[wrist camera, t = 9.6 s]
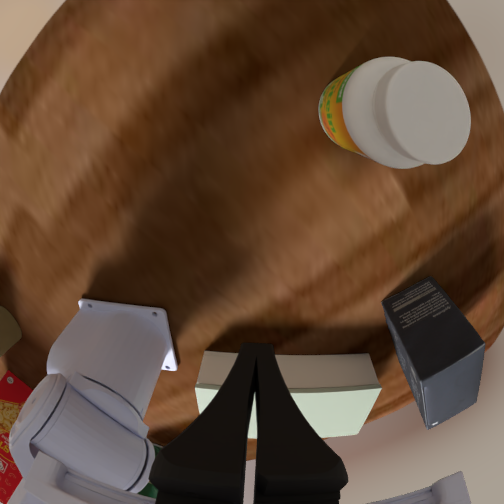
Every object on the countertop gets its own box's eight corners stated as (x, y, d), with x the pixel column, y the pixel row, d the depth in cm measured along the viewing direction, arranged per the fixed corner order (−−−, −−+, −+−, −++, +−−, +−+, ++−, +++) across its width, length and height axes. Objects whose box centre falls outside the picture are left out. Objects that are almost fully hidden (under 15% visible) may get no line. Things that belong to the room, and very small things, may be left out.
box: (441, 337, 24) (478, 403, 16) (397, 360, 26) (425, 432, 17) (432, 272, 21) (488, 343, 13) (378, 300, 23) (418, 385, 14)
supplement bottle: (320, 68, 15) (369, 23, 6) (395, 85, 15) (485, 72, 6) (313, 145, 18) (358, 169, 9) (387, 158, 18) (472, 194, 9)
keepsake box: (211, 397, 29) (205, 426, 26) (204, 350, 26) (196, 382, 22) (349, 399, 29) (355, 426, 25) (368, 353, 25) (378, 383, 22)
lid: (204, 430, 25) (204, 434, 25) (195, 383, 22) (194, 387, 21) (356, 430, 24) (357, 434, 24) (380, 384, 21) (381, 388, 21)
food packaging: (69, 415, 37) (25, 518, 15) (67, 422, 39) (27, 517, 17) (8, 369, 34) (-47, 462, 12) (10, 380, 36) (-40, 466, 14)
